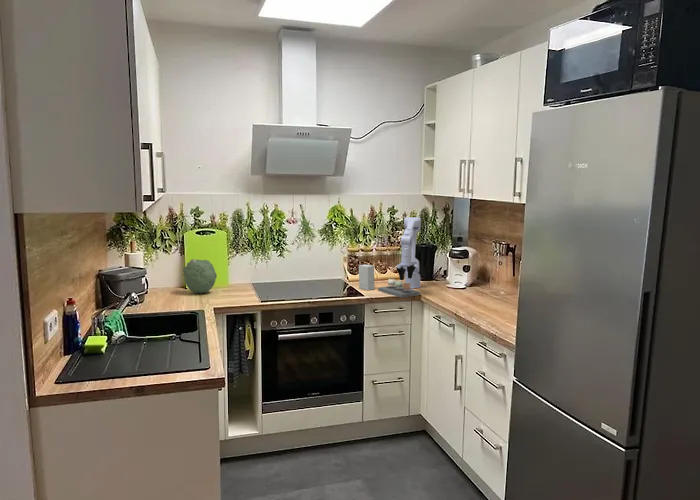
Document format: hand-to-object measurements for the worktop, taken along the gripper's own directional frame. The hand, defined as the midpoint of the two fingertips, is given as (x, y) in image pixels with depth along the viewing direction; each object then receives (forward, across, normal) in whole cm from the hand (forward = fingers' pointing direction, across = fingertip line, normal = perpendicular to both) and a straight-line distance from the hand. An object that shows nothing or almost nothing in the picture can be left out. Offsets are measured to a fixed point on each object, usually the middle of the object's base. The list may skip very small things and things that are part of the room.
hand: (405, 279), depth 295 cm
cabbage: (+10, +84, -84) cm, 119 cm away
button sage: (+6, -2, -6) cm, 9 cm away
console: (+9, -2, -6) cm, 11 cm away
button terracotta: (+6, 0, 0) cm, 6 cm away
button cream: (+6, -3, -13) cm, 15 cm away
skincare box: (+10, +4, -27) cm, 29 cm away
